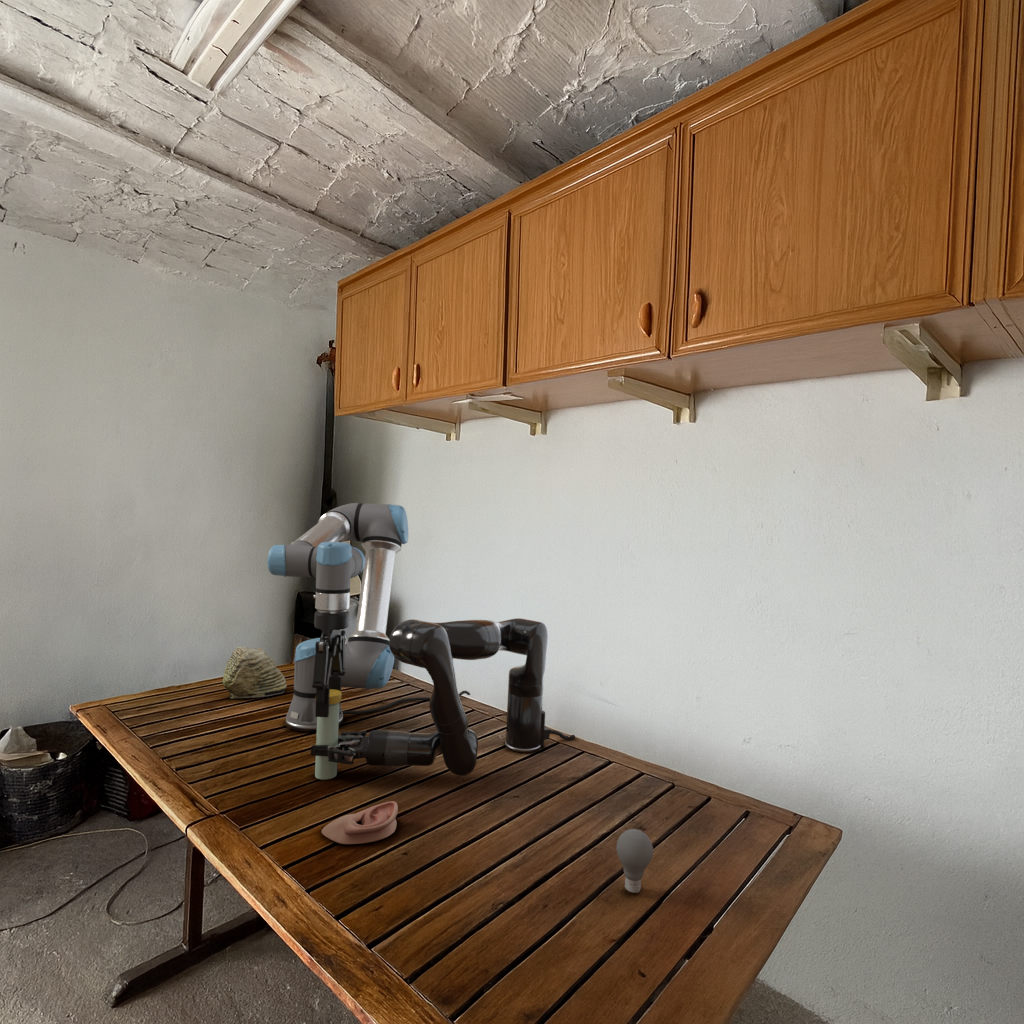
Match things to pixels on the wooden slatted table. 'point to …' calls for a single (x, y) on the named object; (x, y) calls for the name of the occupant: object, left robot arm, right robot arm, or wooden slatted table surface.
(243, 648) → the fossil
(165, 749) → the wooden slatted table surface
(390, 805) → the anatomical model
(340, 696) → the lid
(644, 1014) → the wooden slatted table surface
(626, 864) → the light bulb
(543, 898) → the wooden slatted table surface
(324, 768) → the jar
